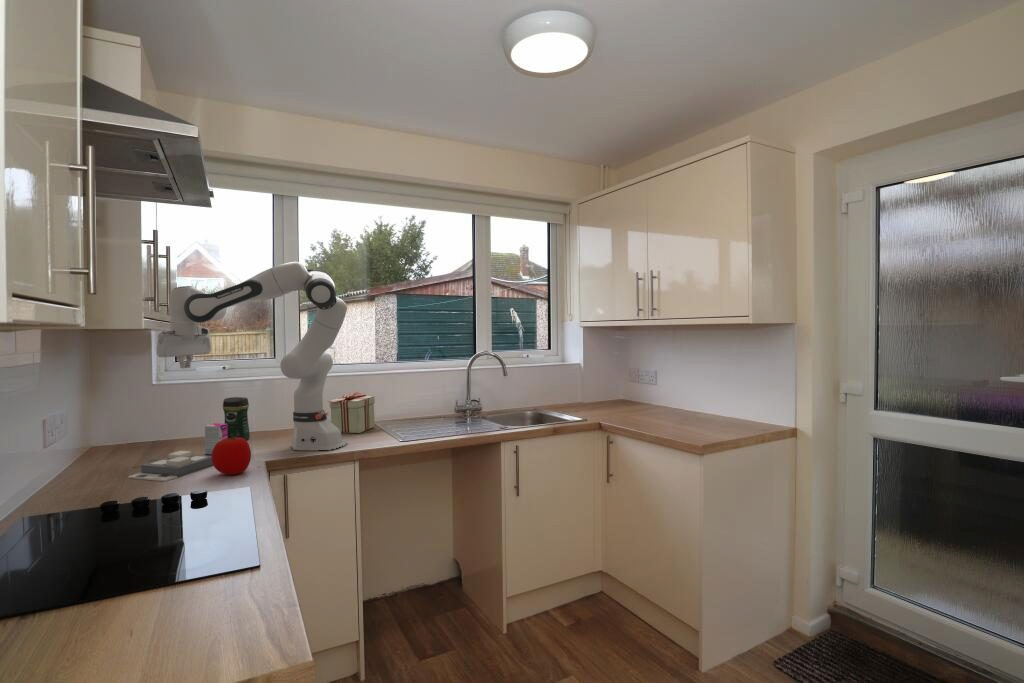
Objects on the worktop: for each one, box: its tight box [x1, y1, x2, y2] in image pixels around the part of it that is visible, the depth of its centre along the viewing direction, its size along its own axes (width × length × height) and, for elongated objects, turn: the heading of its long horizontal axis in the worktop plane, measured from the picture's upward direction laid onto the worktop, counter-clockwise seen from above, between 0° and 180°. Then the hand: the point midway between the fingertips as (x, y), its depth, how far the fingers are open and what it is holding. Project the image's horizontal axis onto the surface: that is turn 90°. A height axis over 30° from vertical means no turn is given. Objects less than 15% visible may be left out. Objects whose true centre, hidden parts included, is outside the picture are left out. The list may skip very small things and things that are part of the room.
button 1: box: [149, 460, 167, 465], centre depth 179 cm, size 5×5×2 cm
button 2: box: [166, 457, 191, 467], centre depth 177 cm, size 5×5×2 cm
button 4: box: [191, 456, 208, 461], centre depth 184 cm, size 5×5×2 cm
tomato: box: [212, 436, 252, 476], centre depth 175 cm, size 12×12×13 cm
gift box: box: [327, 391, 376, 434], centre depth 244 cm, size 17×18×17 cm
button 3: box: [167, 450, 193, 459], centre depth 185 cm, size 5×5×2 cm
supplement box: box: [204, 422, 228, 456], centre depth 201 cm, size 6×6×12 cm
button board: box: [127, 453, 214, 482], centre depth 179 cm, size 16×20×3 cm
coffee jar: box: [222, 396, 251, 441], centre depth 224 cm, size 10×8×19 cm
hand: (185, 368), depth 192 cm, fingers closed
